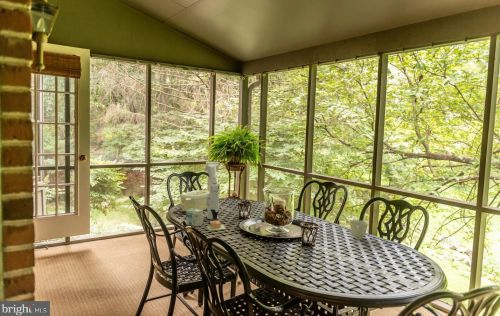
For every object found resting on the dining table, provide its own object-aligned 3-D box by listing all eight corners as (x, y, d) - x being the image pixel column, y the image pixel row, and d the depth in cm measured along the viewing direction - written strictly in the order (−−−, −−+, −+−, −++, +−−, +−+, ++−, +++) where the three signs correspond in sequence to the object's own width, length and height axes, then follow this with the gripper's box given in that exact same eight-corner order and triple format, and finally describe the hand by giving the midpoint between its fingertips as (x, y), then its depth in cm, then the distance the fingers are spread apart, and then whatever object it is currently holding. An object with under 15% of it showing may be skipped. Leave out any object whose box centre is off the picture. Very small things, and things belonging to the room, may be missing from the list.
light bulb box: (186, 224, 255) (185, 210, 254) (190, 222, 261) (190, 208, 260) (198, 226, 251) (198, 211, 250) (203, 223, 257) (203, 209, 256)
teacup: (347, 241, 220) (347, 225, 219) (349, 234, 234) (349, 219, 233) (367, 243, 216) (368, 227, 215) (368, 236, 230) (368, 221, 229)
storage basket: (198, 205, 313) (198, 189, 312) (212, 207, 305) (212, 191, 303) (179, 211, 293) (179, 193, 291) (194, 214, 285) (194, 196, 283)
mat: (206, 226, 250) (206, 226, 250) (222, 225, 254) (222, 224, 254) (209, 230, 241) (209, 230, 240) (226, 229, 244) (226, 228, 244)
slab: (210, 221, 252) (212, 224, 245) (218, 220, 253) (220, 223, 247) (210, 225, 252) (212, 228, 245) (218, 224, 254) (220, 227, 247)
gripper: (207, 199, 255) (207, 217, 256) (211, 203, 241) (211, 222, 242) (216, 198, 257) (216, 216, 258) (221, 202, 243) (221, 221, 244)
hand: (214, 219), depth 250 cm, fingers closed
